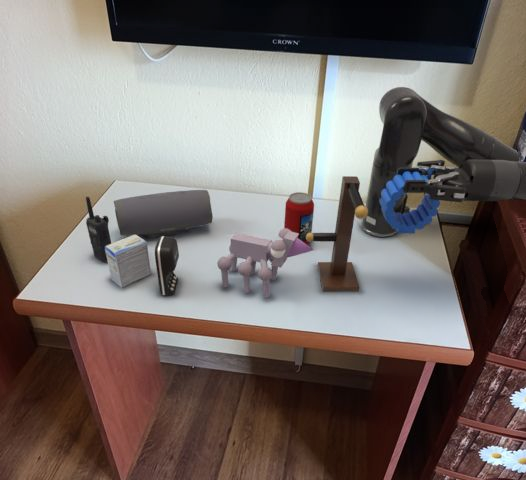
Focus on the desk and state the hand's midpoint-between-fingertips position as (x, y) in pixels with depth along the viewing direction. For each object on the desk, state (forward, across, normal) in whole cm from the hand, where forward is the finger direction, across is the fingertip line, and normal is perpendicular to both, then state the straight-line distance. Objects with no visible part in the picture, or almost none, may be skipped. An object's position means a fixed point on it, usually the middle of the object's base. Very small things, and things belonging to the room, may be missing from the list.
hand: (401, 179), depth 96 cm
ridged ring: (-3, 0, -10) cm, 10 cm away
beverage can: (+16, +19, -25) cm, 36 cm away
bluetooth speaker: (+49, +25, -25) cm, 61 cm away
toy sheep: (+25, 0, -25) cm, 35 cm away
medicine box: (+55, +4, -25) cm, 61 cm away
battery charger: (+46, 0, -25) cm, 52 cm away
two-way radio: (+62, +13, -25) cm, 68 cm away
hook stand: (+10, 0, -25) cm, 27 cm away
